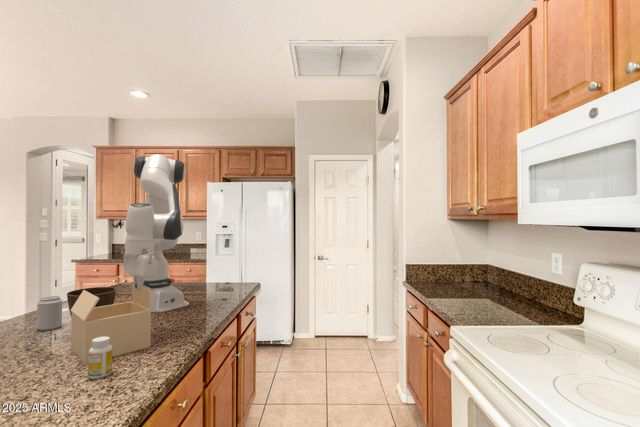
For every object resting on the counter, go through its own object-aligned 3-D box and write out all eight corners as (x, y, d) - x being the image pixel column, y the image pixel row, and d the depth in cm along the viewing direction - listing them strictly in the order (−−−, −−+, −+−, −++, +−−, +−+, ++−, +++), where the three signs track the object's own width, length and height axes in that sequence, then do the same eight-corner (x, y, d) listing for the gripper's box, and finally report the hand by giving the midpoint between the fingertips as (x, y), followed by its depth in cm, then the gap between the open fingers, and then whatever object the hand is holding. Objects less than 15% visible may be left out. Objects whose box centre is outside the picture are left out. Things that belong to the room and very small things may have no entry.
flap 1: (85, 321, 97) (83, 320, 96) (72, 310, 108) (70, 310, 108) (99, 298, 99) (98, 297, 99) (85, 290, 111) (83, 289, 111)
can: (47, 332, 124) (48, 299, 124) (31, 330, 125) (32, 299, 126) (66, 326, 131) (67, 295, 132) (51, 324, 133) (51, 294, 133)
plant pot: (125, 330, 126) (125, 288, 126) (88, 344, 112) (89, 296, 112) (94, 327, 130) (95, 286, 130) (55, 340, 116) (56, 293, 116)
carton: (131, 334, 121) (131, 301, 122) (150, 346, 109) (151, 310, 110) (70, 348, 108) (71, 311, 109) (85, 364, 96) (85, 322, 96)
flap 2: (132, 301, 121) (133, 300, 122) (150, 309, 110) (152, 308, 110) (131, 282, 121) (132, 281, 122) (149, 288, 110) (150, 288, 110)
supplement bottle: (91, 381, 86) (92, 344, 86) (85, 375, 89) (85, 339, 89) (114, 374, 90) (115, 338, 90) (107, 368, 93) (108, 334, 93)
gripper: (160, 249, 111) (159, 291, 110) (139, 247, 125) (138, 284, 124) (140, 250, 106) (139, 294, 106) (120, 248, 120) (119, 286, 120)
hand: (138, 289), depth 115 cm, fingers closed, pressing on flap 2
